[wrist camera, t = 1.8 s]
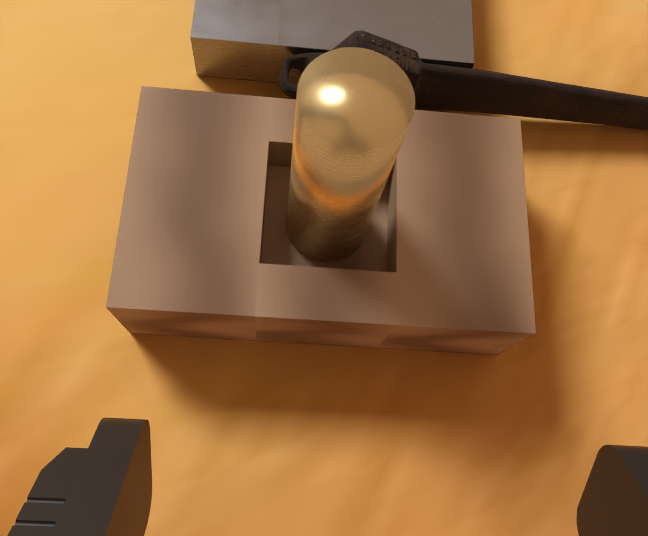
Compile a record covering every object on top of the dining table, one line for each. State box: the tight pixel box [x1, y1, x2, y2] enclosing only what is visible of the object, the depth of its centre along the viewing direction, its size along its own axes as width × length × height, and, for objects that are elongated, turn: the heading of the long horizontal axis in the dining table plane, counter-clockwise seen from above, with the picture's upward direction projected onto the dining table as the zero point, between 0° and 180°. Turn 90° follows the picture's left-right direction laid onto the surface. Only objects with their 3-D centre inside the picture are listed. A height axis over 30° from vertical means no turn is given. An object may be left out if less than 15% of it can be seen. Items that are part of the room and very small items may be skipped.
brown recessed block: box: [106, 86, 536, 355], centre depth 28 cm, size 17×10×4 cm, turn 88°
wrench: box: [279, 30, 648, 130], centre depth 32 cm, size 5×5×30 cm
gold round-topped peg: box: [286, 47, 415, 263], centre depth 23 cm, size 4×4×10 cm
